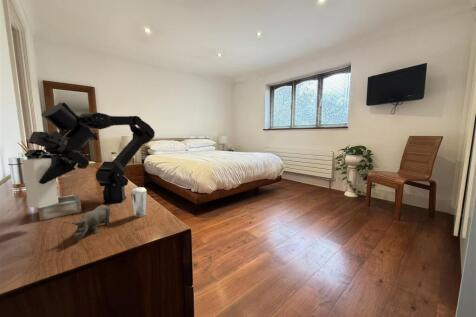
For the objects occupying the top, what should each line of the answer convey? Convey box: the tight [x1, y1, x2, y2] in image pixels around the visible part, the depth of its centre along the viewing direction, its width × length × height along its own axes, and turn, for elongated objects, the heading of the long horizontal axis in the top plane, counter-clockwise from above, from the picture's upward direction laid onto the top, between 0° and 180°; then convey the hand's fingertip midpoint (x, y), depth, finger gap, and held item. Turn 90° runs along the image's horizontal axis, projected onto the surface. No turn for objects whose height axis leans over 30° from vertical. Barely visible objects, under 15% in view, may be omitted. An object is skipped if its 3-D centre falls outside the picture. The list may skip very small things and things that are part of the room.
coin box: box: [37, 193, 82, 221], centre depth 67 cm, size 10×10×4 cm
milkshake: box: [127, 184, 147, 218], centre depth 63 cm, size 4×5×10 cm
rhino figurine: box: [71, 204, 111, 240], centre depth 52 cm, size 4×14×6 cm, turn 3°
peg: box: [21, 158, 59, 209], centre depth 55 cm, size 4×4×13 cm
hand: (34, 182), depth 53 cm, fingers closed on peg, 4 cm apart
